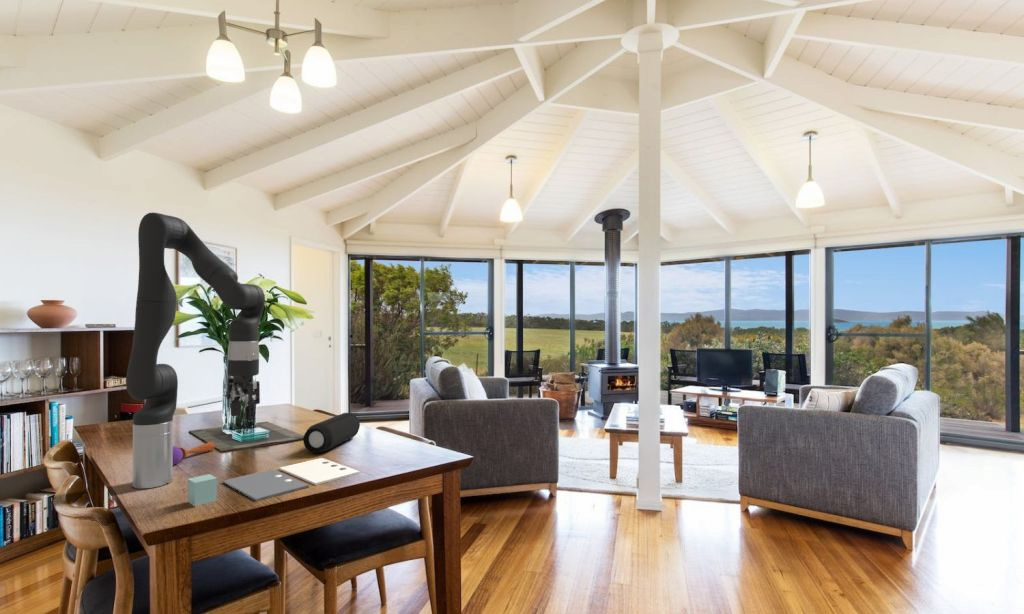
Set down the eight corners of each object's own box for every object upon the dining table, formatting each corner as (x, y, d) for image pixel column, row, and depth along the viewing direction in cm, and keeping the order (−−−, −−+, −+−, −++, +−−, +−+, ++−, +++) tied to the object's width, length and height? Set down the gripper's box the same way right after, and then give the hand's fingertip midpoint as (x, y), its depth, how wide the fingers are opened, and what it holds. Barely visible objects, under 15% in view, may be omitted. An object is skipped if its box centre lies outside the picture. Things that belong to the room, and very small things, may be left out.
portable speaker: (338, 436, 199) (338, 411, 199) (362, 437, 197) (362, 411, 198) (300, 454, 174) (300, 425, 174) (327, 456, 172) (328, 426, 172)
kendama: (220, 440, 178) (174, 450, 159) (216, 457, 178) (169, 469, 158) (205, 436, 179) (157, 446, 160) (201, 453, 179) (153, 465, 159)
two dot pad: (222, 482, 145) (222, 480, 145) (272, 471, 155) (272, 469, 155) (256, 501, 130) (256, 498, 130) (308, 487, 141) (308, 484, 141)
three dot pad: (278, 469, 157) (279, 467, 157) (321, 459, 167) (321, 457, 167) (315, 485, 142) (315, 482, 142) (359, 473, 153) (359, 471, 153)
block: (187, 502, 130) (187, 478, 130) (209, 497, 134) (209, 474, 134) (194, 507, 126) (194, 483, 127) (216, 501, 130) (217, 478, 130)
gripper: (217, 356, 140) (216, 416, 140) (240, 360, 131) (239, 424, 131) (246, 355, 146) (245, 412, 146) (270, 358, 137) (269, 419, 137)
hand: (242, 418), depth 138 cm, fingers open, 8 cm apart
